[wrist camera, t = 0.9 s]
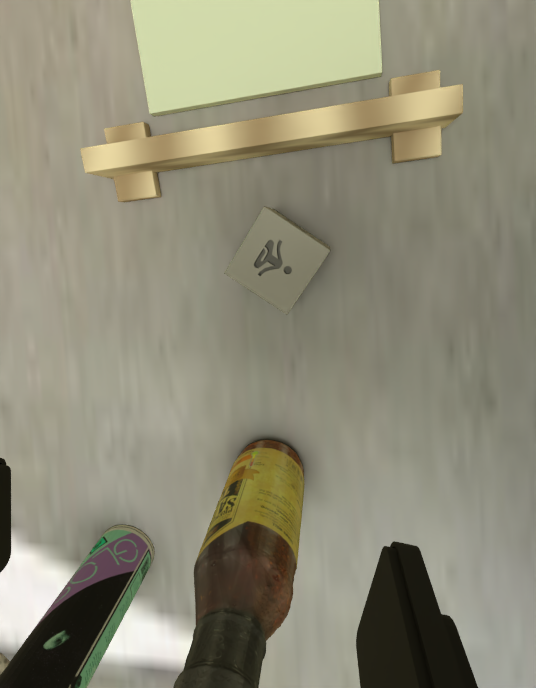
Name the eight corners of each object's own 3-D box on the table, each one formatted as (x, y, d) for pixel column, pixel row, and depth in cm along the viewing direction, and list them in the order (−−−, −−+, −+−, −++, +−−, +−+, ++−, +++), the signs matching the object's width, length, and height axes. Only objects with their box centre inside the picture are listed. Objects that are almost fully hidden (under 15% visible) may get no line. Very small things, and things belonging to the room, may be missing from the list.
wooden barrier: (443, 73, 28) (462, 49, 24) (445, 155, 29) (463, 145, 25) (104, 132, 32) (74, 119, 28) (118, 203, 33) (91, 200, 29)
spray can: (136, 517, 41) (-34, 775, 21) (164, 562, 42) (25, 848, 22) (90, 534, 42) (-109, 792, 23) (119, 578, 43) (-49, 861, 24)
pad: (370, -128, 26) (372, -139, 25) (380, 76, 28) (382, 72, 28) (123, -66, 28) (117, -74, 28) (154, 116, 31) (149, 113, 30)
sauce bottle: (242, 428, 37) (150, 644, 18) (313, 446, 36) (297, 689, 17) (228, 492, 38) (131, 750, 20) (295, 510, 38) (263, 793, 19)
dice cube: (273, 209, 32) (264, 206, 27) (330, 246, 32) (330, 250, 27) (239, 266, 33) (224, 273, 28) (293, 302, 33) (287, 315, 29)
